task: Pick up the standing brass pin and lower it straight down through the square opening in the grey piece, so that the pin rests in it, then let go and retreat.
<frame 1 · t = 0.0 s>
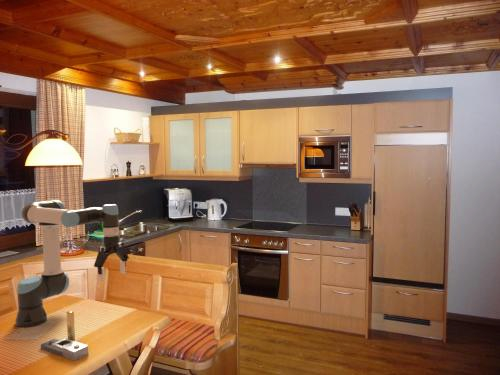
hand: (112, 276, 209), 28 cm above the table, fingers open, 13 cm apart
brass pin: (71, 340, 200), on the table
grey piece: (64, 351, 189), on the table
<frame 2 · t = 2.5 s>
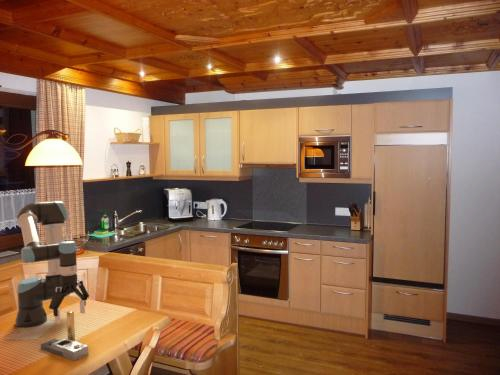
hand: (70, 317, 199), 11 cm above the table, fingers open, 13 cm apart
nothing on the table moved.
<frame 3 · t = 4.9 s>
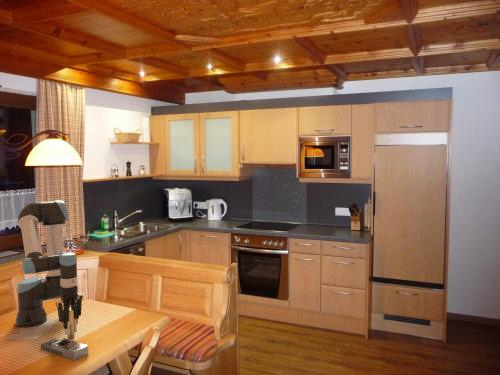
hand: (70, 332, 200), 4 cm above the table, fingers closed on brass pin, 3 cm apart
brass pin: (71, 338, 201), point 1 cm above the table, touching gripper
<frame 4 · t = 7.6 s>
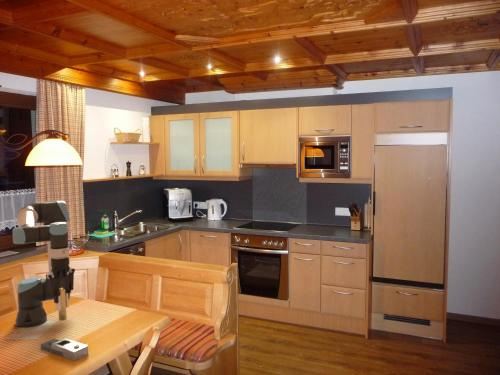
hand: (62, 308, 187), 20 cm above the table, fingers closed on brass pin, 3 cm apart
brass pin: (62, 319, 188), point 15 cm above the table, touching gripper
when the fingers open (5 cm above the table, at t = 10.5 s): brass pin stays where it is, resting in grey piece.
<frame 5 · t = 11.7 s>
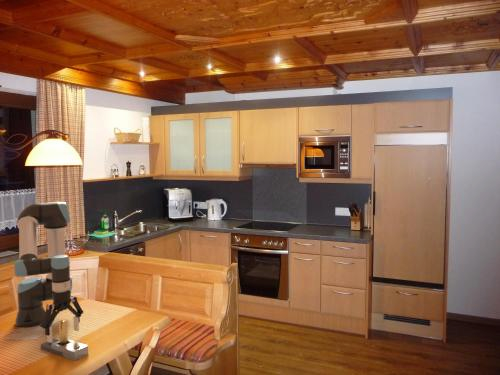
hand: (63, 335, 188), 7 cm above the table, fingers open, 13 cm apart
brass pin: (64, 351, 189), resting in grey piece
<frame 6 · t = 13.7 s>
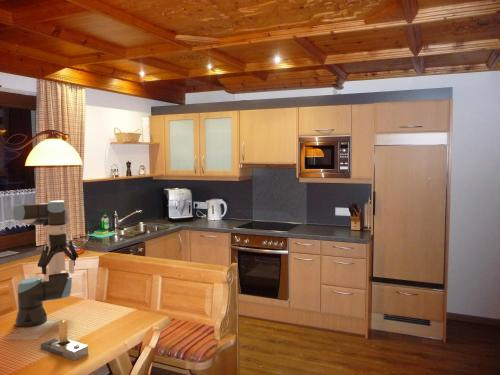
hand: (59, 276, 200), 31 cm above the table, fingers open, 13 cm apart
nothing on the table moved.
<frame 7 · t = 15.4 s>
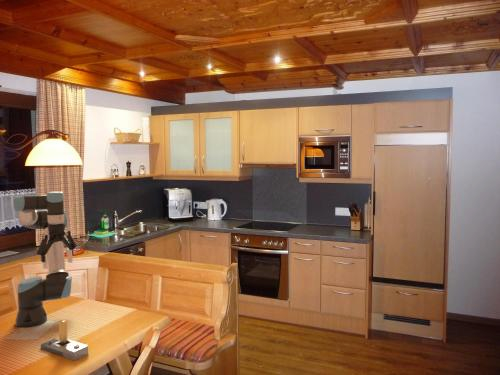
hand: (58, 265, 206), 35 cm above the table, fingers open, 13 cm apart
nothing on the table moved.
at the end: brass pin 0.1 cm off-centre on the grey piece, point 0.0 cm above the grey piece's base; brass pin tilted 0°; the gripper is holding nothing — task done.
